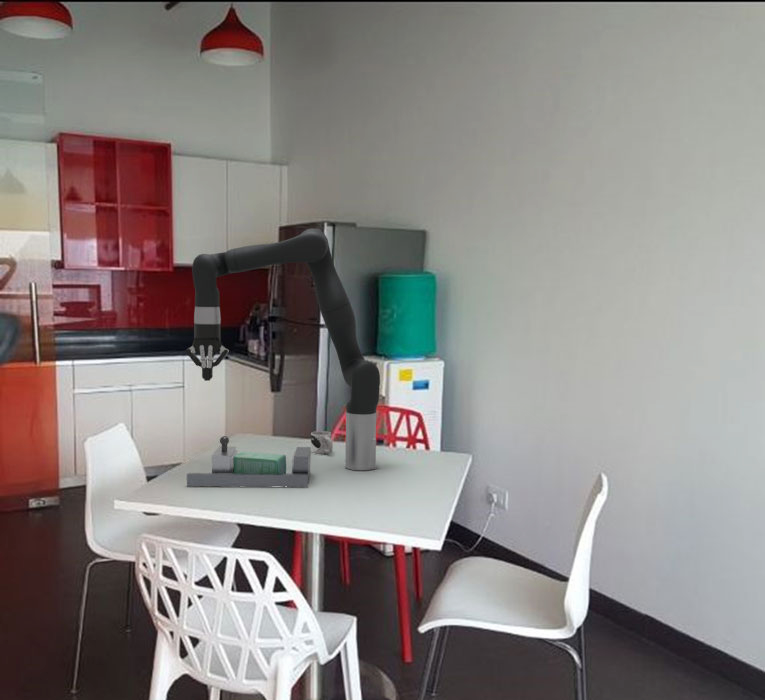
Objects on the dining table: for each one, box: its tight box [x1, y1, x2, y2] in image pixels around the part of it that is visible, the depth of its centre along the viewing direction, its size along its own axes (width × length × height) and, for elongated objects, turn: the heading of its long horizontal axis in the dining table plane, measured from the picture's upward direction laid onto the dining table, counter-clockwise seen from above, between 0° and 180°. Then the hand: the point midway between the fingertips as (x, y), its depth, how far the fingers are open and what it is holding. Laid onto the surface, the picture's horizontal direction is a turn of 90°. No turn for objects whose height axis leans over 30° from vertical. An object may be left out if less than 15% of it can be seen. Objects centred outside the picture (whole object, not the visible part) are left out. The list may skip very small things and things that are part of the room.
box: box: [233, 451, 287, 474], centre depth 208 cm, size 7×14×8 cm, turn 79°
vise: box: [186, 446, 312, 488], centre depth 208 cm, size 33×15×8 cm, turn 93°
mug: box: [310, 430, 333, 455], centre depth 242 cm, size 10×7×7 cm
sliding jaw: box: [211, 435, 239, 473], centre depth 209 cm, size 6×12×12 cm, turn 3°
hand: (207, 380), depth 217 cm, fingers closed
